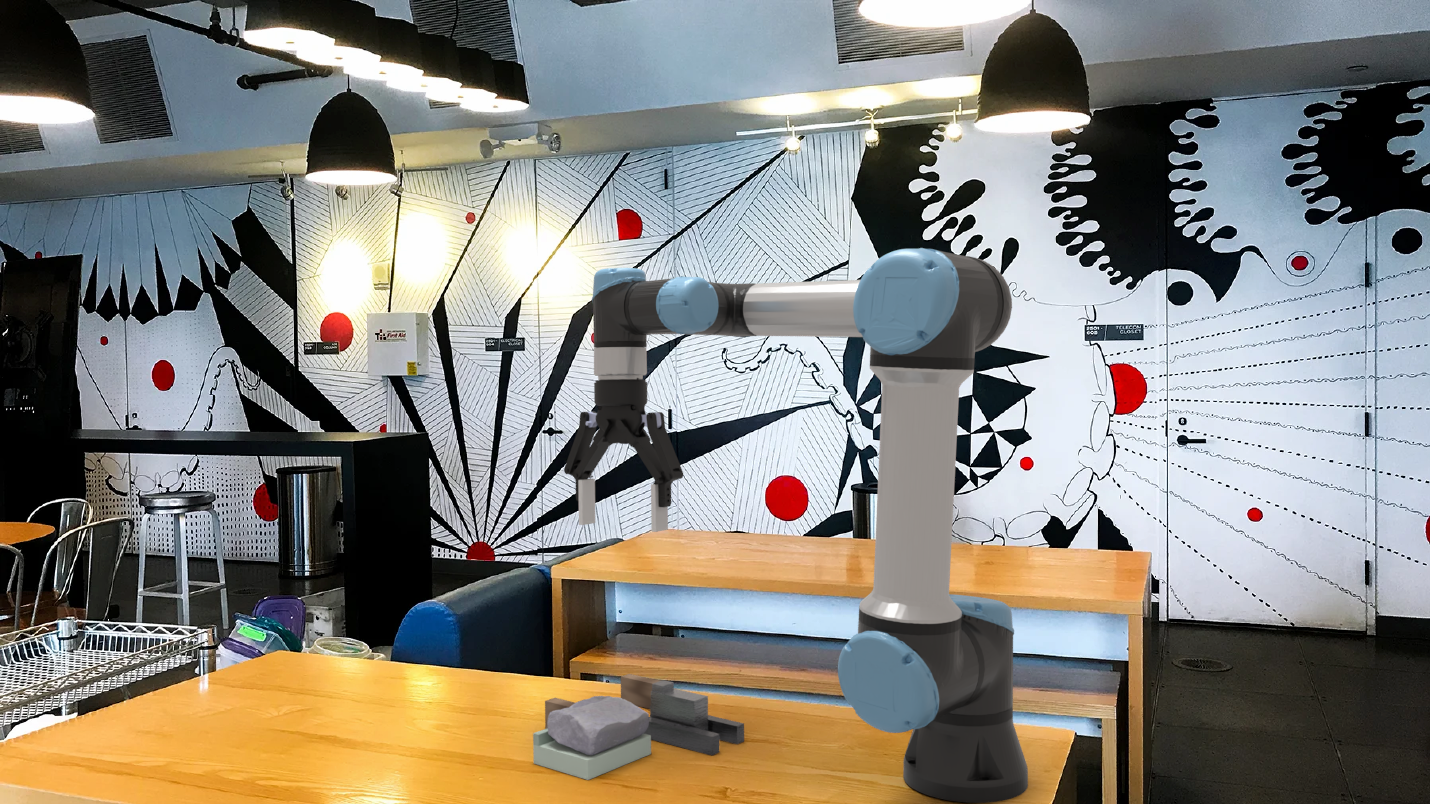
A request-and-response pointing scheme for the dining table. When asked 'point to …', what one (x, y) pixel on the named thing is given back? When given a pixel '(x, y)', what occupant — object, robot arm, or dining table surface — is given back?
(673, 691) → the grey metal block
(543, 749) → the pale green ledge block
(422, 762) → the dining table surface
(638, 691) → the brown piece
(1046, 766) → the dining table surface
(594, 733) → the stone block
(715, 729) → the guide
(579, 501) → the robot arm
